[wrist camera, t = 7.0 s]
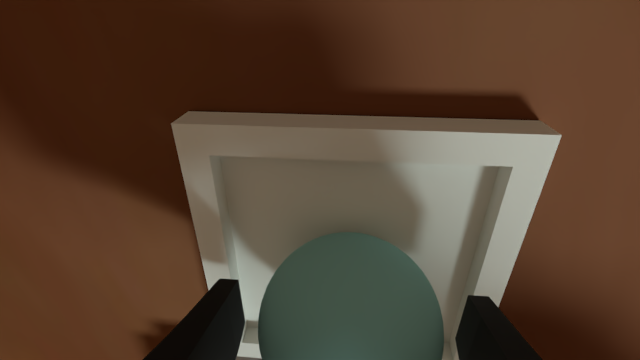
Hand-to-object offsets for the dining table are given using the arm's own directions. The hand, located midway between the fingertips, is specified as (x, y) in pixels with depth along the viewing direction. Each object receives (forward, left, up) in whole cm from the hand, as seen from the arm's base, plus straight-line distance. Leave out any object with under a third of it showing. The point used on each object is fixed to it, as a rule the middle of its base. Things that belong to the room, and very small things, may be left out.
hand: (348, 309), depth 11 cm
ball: (0, 0, -2) cm, 2 cm away
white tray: (0, 0, -3) cm, 3 cm away
